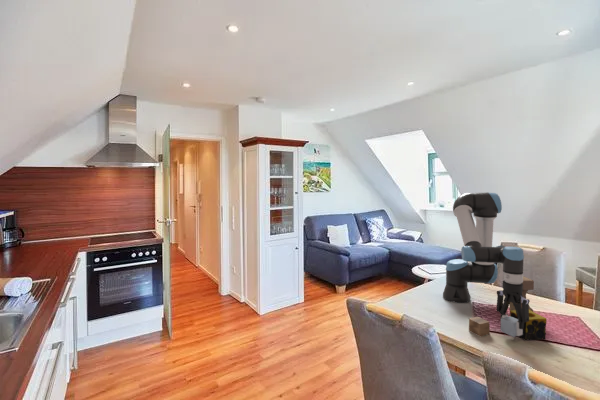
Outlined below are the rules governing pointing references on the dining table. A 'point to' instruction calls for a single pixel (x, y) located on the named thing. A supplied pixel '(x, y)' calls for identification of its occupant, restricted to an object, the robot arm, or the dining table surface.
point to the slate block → (509, 325)
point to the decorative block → (524, 291)
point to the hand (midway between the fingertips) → (511, 331)
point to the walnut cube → (479, 326)
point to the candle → (532, 326)
